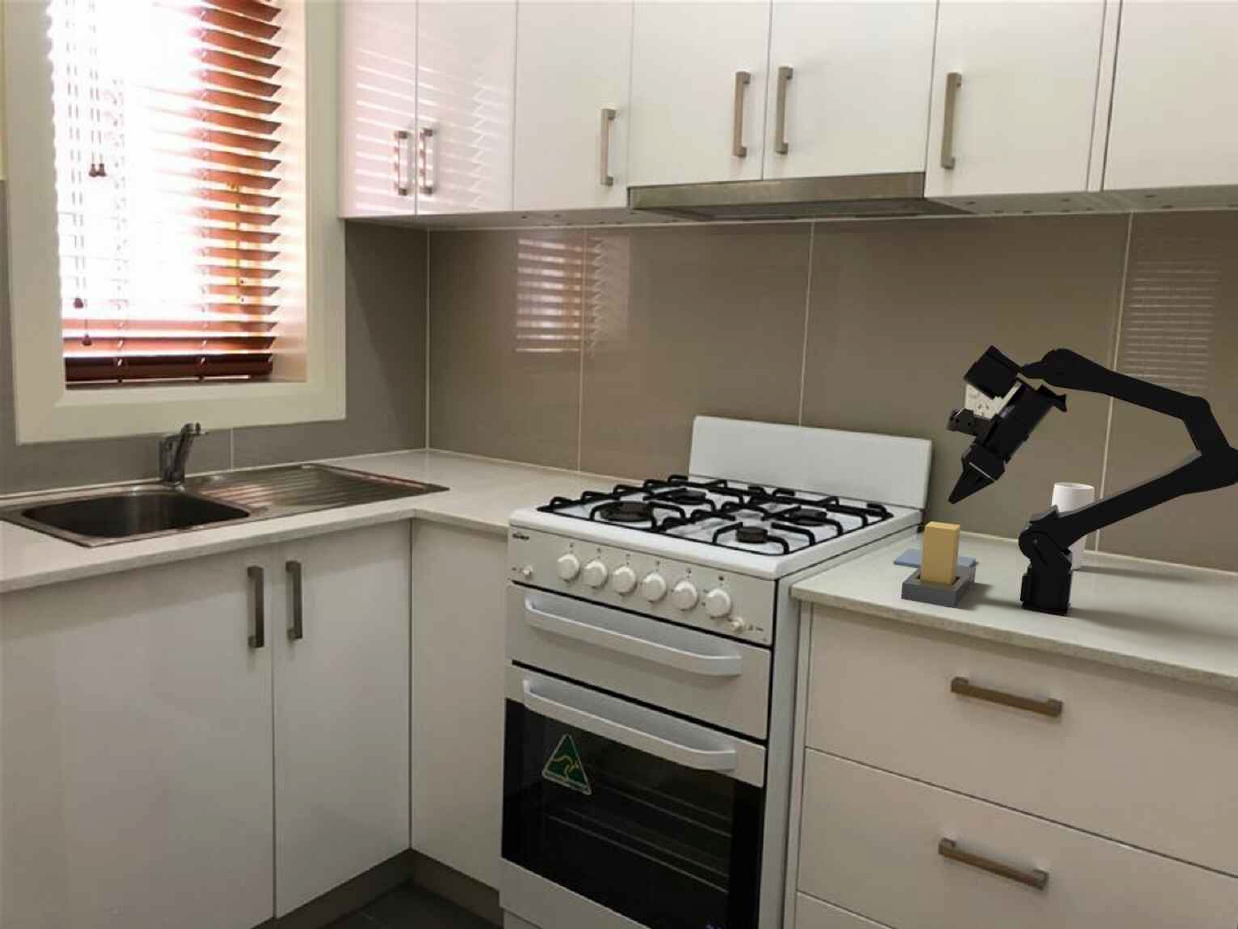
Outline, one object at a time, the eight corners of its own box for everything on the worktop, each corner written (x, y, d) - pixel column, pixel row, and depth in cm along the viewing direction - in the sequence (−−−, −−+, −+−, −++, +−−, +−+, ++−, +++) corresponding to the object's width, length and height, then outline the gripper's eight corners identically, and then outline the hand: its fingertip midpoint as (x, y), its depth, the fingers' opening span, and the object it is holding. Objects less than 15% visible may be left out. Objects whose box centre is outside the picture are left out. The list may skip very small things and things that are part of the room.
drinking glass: (1043, 567, 179) (1052, 485, 177) (1046, 560, 185) (1055, 480, 182) (1084, 573, 176) (1094, 490, 173) (1086, 565, 182) (1096, 485, 179)
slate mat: (975, 561, 181) (975, 558, 181) (963, 575, 171) (963, 571, 170) (908, 551, 187) (909, 548, 187) (893, 563, 176) (893, 560, 176)
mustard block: (954, 592, 159) (960, 525, 158) (948, 598, 155) (955, 530, 154) (925, 587, 161) (931, 521, 160) (918, 593, 157) (925, 526, 156)
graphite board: (974, 582, 166) (976, 567, 166) (954, 607, 150) (955, 591, 150) (925, 574, 170) (927, 560, 169) (901, 598, 154) (902, 582, 154)
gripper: (978, 385, 161) (918, 460, 167) (968, 390, 145) (902, 474, 150) (1036, 426, 159) (974, 501, 164) (1034, 436, 142) (964, 520, 147)
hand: (953, 498), depth 156 cm, fingers open, 9 cm apart
